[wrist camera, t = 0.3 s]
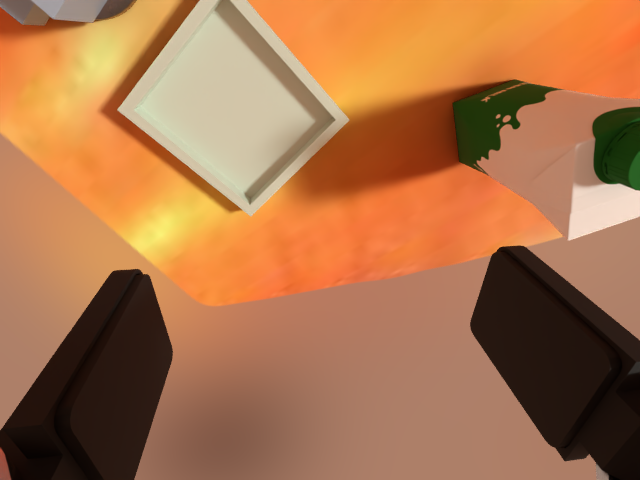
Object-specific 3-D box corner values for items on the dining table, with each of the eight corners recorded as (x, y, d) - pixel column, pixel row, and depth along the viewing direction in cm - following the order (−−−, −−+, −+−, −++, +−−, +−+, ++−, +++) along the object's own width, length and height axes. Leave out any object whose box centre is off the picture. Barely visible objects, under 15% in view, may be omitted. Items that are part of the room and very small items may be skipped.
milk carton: (522, 67, 36) (751, 93, 19) (523, 146, 40) (706, 226, 23) (442, 97, 36) (592, 150, 19) (452, 172, 41) (580, 267, 24)
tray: (225, -24, 29) (221, -29, 27) (345, 115, 36) (349, 120, 34) (126, 105, 33) (117, 109, 31) (252, 207, 40) (250, 216, 38)
